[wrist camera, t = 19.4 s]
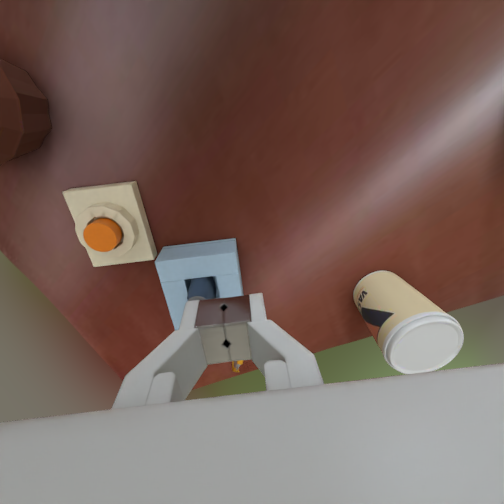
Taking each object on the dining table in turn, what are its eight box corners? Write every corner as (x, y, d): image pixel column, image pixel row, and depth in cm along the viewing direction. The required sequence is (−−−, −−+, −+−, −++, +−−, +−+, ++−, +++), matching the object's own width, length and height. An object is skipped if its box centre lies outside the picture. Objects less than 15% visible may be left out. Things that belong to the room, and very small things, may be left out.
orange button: (85, 219, 30) (77, 225, 29) (116, 216, 31) (110, 221, 29) (96, 247, 32) (89, 253, 30) (126, 244, 32) (121, 250, 31)
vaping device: (201, 296, 39) (190, 363, 28) (191, 266, 37) (175, 326, 26) (218, 293, 39) (213, 358, 28) (209, 263, 37) (200, 321, 26)
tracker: (238, 340, 44) (239, 358, 41) (243, 341, 44) (244, 359, 41) (232, 357, 46) (232, 376, 42) (236, 357, 46) (236, 376, 43)
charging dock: (163, 246, 36) (153, 262, 32) (235, 237, 36) (236, 252, 32) (182, 315, 41) (176, 337, 37) (245, 307, 41) (246, 328, 37)
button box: (70, 188, 32) (52, 195, 29) (136, 180, 32) (125, 187, 29) (99, 260, 36) (87, 273, 33) (157, 253, 36) (150, 266, 33)
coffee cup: (343, 275, 40) (384, 331, 29) (404, 258, 39) (469, 308, 29) (351, 320, 44) (389, 384, 33) (407, 305, 43) (464, 365, 33)
